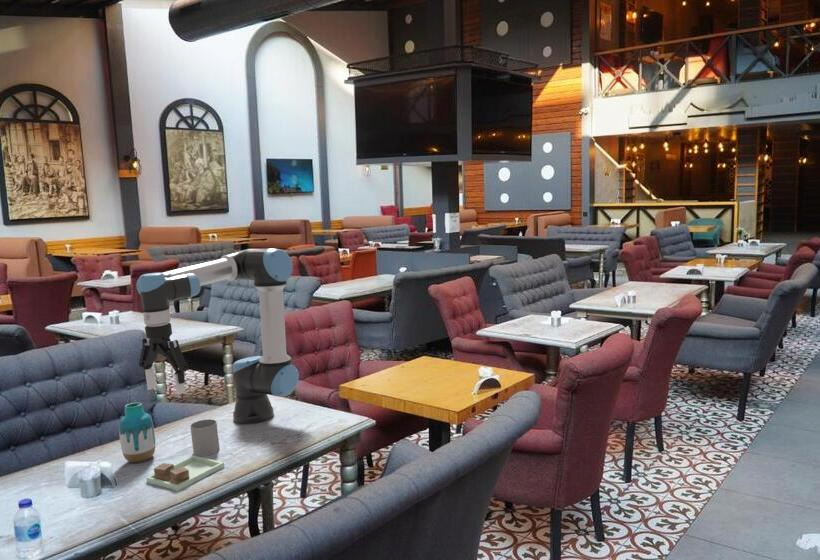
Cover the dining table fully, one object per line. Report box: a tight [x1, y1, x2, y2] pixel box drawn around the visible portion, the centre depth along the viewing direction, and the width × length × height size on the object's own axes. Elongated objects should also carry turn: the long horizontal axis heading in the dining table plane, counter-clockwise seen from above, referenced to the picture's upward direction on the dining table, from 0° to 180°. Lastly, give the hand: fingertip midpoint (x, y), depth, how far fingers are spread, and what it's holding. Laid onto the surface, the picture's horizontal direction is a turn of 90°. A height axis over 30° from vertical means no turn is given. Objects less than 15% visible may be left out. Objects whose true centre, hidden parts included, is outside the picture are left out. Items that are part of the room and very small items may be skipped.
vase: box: [118, 401, 156, 463], centre depth 220 cm, size 11×11×19 cm
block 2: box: [170, 466, 189, 485], centre depth 200 cm, size 4×4×4 cm
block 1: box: [153, 462, 174, 482], centre depth 203 cm, size 4×4×4 cm
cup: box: [190, 418, 220, 457], centre depth 223 cm, size 8×8×10 cm
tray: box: [145, 454, 225, 492], centre depth 206 cm, size 18×14×2 cm
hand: (166, 391), depth 206 cm, fingers open, 13 cm apart
